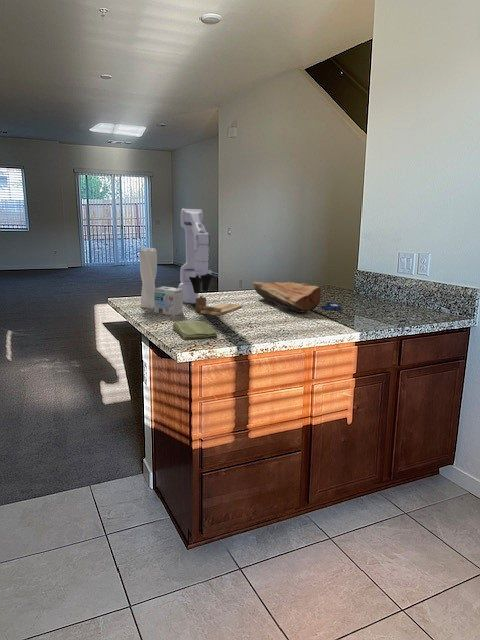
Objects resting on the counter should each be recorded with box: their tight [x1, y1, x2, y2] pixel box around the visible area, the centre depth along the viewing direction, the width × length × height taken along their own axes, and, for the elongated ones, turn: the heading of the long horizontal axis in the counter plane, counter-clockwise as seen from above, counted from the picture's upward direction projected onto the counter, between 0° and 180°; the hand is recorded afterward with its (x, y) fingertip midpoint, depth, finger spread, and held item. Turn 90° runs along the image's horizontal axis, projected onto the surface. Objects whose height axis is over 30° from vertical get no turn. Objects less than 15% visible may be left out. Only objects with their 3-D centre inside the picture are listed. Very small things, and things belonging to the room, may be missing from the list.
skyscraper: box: [139, 244, 158, 309], centre depth 210 cm, size 8×8×28 cm
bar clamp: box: [321, 301, 353, 319], centre depth 216 cm, size 32×2×10 cm
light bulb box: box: [153, 286, 184, 317], centre depth 200 cm, size 11×7×11 cm, turn 62°
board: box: [200, 302, 243, 317], centre depth 211 cm, size 9×23×1 cm, turn 155°
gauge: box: [194, 295, 222, 313], centre depth 205 cm, size 12×4×7 cm, turn 65°
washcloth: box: [172, 321, 218, 340], centre depth 169 cm, size 13×18×3 cm
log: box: [252, 280, 322, 313], centre depth 226 cm, size 42×18×15 cm, turn 19°
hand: (201, 292), depth 205 cm, fingers open, 7 cm apart
